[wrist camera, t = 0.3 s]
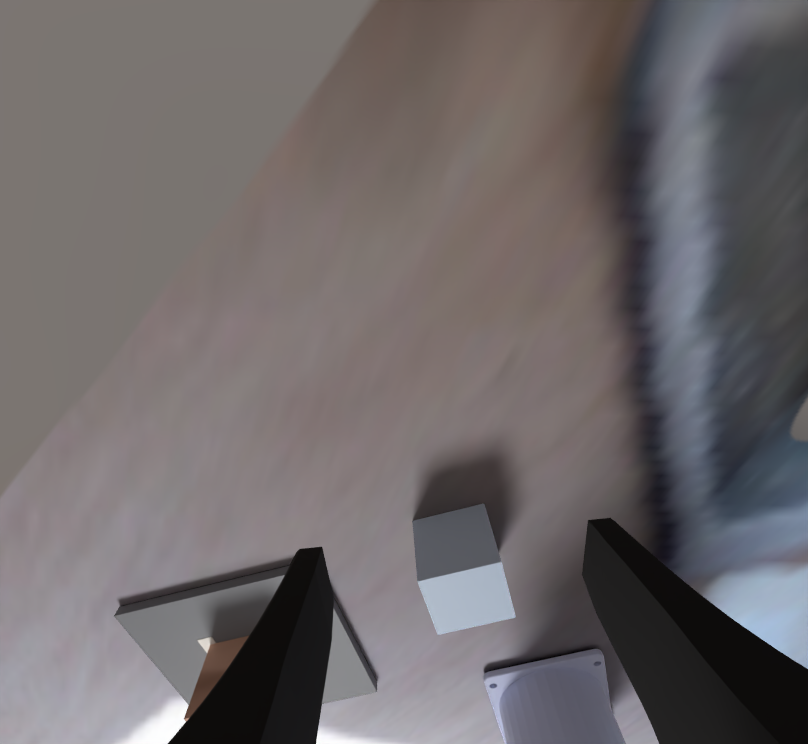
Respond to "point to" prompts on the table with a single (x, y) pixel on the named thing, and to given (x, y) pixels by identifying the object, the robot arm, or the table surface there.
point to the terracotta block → (213, 670)
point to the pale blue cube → (461, 570)
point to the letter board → (230, 632)
